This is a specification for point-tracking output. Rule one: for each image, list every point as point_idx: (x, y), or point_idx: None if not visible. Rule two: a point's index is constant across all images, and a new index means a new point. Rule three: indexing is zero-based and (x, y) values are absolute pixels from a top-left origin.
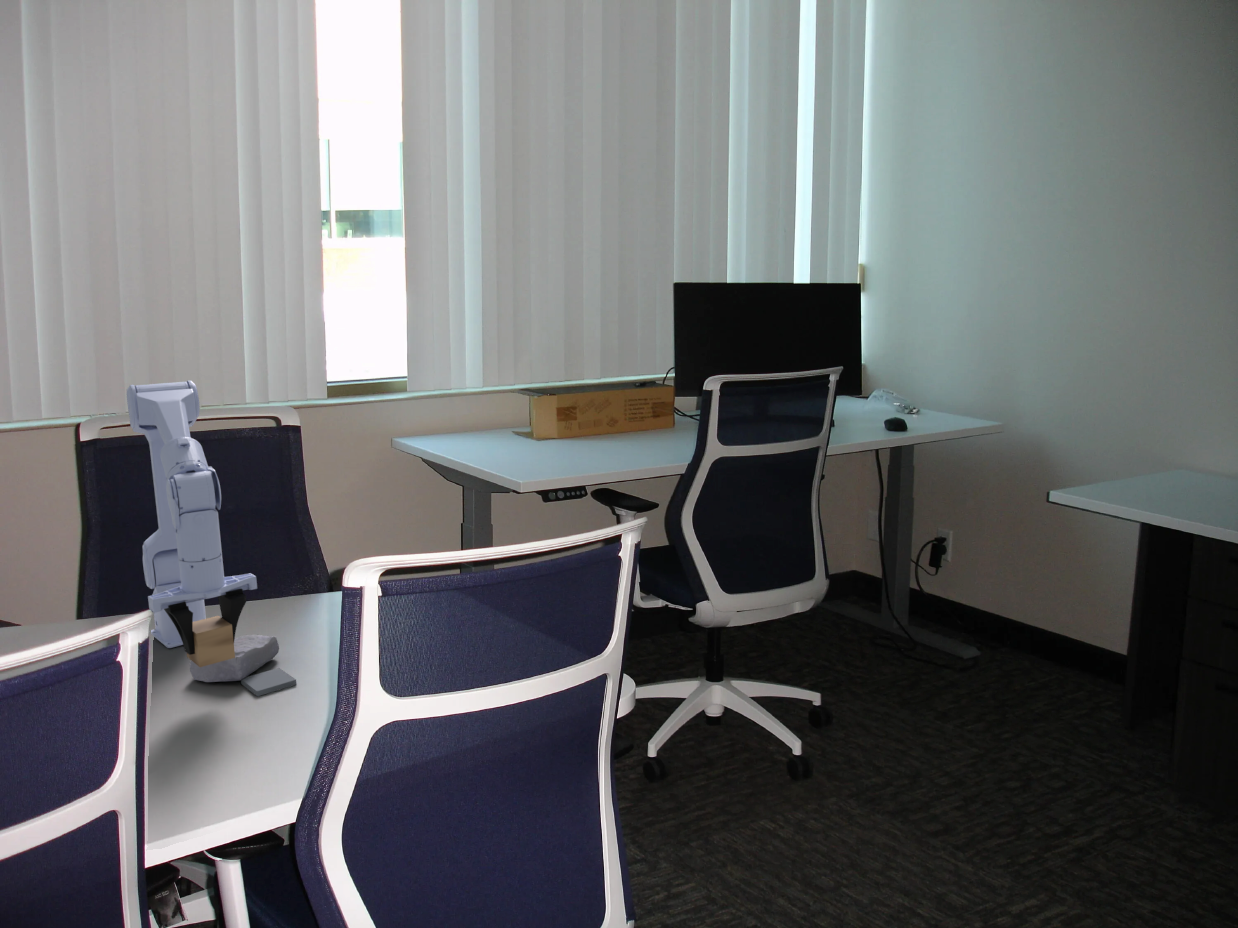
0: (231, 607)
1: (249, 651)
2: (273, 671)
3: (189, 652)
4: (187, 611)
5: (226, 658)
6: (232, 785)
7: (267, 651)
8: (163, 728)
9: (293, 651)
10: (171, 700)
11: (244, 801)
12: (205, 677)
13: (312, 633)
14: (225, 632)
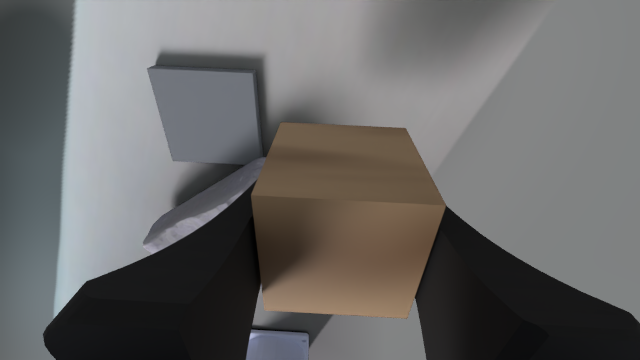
0: (207, 277)
1: (215, 205)
2: (188, 151)
3: None
4: (560, 349)
5: (311, 125)
6: None
7: (176, 214)
8: (497, 60)
9: (134, 221)
10: None
11: None
12: None
13: (91, 261)
14: (294, 177)
